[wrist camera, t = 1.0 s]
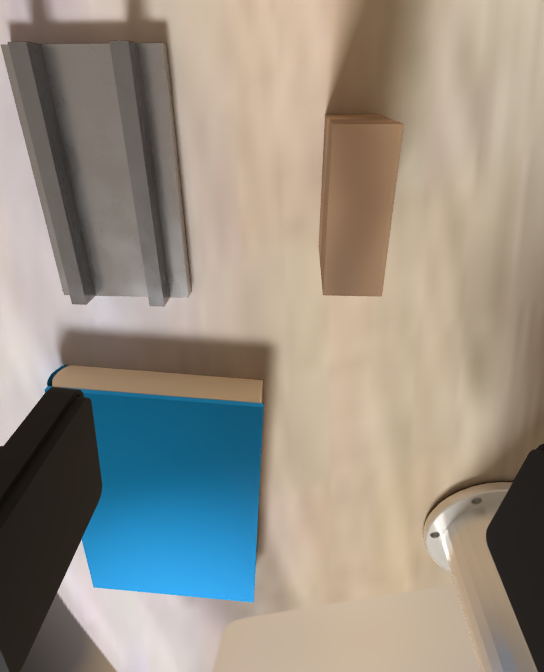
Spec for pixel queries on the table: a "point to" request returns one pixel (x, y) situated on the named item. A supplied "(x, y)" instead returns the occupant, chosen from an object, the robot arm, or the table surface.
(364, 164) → the door panel
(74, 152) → the floor track
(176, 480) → the book
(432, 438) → the table surface
